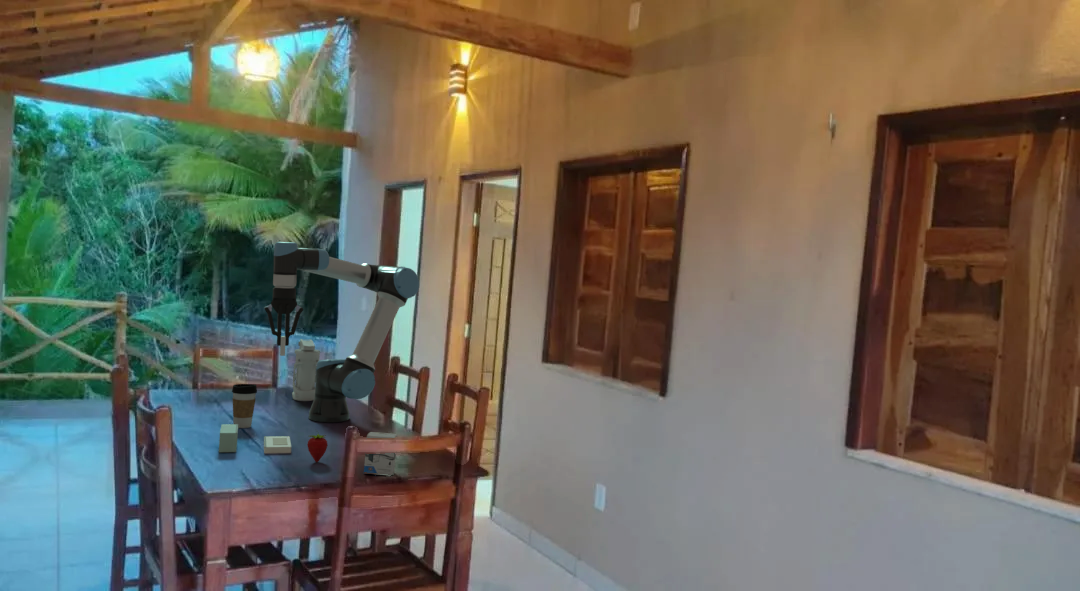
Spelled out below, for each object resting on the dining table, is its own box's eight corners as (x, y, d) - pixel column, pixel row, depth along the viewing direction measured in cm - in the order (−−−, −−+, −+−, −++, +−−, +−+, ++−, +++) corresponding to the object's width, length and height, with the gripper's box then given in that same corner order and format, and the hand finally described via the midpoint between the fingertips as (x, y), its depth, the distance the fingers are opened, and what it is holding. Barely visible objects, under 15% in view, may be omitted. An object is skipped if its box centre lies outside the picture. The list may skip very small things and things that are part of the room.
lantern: (318, 401, 327) (322, 343, 326) (293, 401, 323) (297, 342, 322) (314, 395, 339) (317, 339, 338) (289, 395, 334) (293, 338, 333)
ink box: (362, 475, 224) (365, 435, 223) (366, 470, 229) (368, 431, 228) (392, 477, 224) (395, 437, 224) (395, 472, 229) (397, 433, 229)
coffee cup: (246, 430, 267) (248, 387, 266) (224, 427, 268) (227, 384, 268) (259, 425, 275) (262, 384, 274) (238, 422, 277) (241, 381, 276)
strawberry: (308, 465, 229) (310, 432, 228) (304, 459, 236) (306, 427, 235) (328, 464, 231) (330, 432, 231) (324, 458, 238) (326, 426, 238)
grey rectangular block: (237, 442, 248) (238, 423, 248) (236, 452, 237) (237, 432, 236) (220, 442, 246) (221, 423, 246) (218, 452, 235) (219, 432, 235)
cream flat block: (289, 442, 254) (289, 436, 254) (290, 453, 241) (291, 446, 241) (263, 442, 252) (264, 436, 252) (264, 453, 239) (264, 446, 238)
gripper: (303, 286, 267) (301, 353, 269) (263, 285, 262) (261, 353, 264) (305, 288, 261) (303, 356, 262) (264, 287, 256) (262, 357, 257)
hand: (282, 355), depth 263 cm, fingers closed
